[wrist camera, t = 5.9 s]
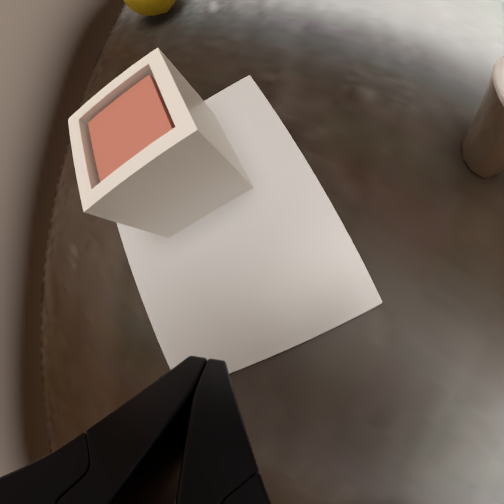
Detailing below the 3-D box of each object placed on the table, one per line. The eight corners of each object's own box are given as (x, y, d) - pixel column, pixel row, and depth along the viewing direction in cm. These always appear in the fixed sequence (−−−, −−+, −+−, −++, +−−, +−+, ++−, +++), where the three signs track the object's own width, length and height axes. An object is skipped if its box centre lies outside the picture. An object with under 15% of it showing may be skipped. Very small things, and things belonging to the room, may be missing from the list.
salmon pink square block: (201, 155, 16) (172, 130, 13) (136, 198, 17) (100, 183, 14) (176, 101, 17) (149, 74, 14) (119, 142, 18) (87, 122, 15)
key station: (381, 302, 17) (411, 312, 9) (185, 388, 20) (101, 430, 12) (252, 81, 22) (207, -1, 13) (109, 175, 24) (30, 138, 16)
